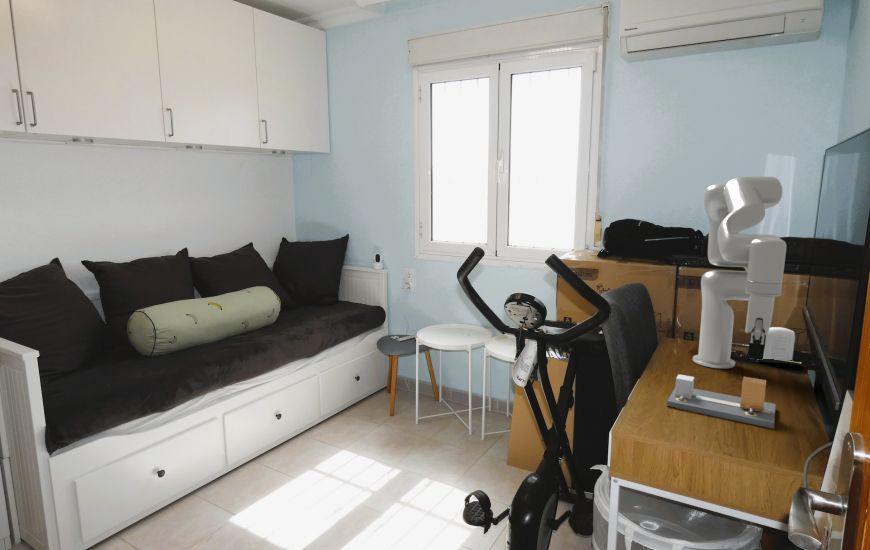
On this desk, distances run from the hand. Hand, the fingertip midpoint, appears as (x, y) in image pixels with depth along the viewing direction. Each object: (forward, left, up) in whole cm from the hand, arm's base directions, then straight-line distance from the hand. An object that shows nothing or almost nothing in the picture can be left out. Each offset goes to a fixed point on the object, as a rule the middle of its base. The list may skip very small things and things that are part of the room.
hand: (756, 353), depth 130 cm
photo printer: (-52, +4, -16) cm, 55 cm away
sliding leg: (+2, 0, -14) cm, 14 cm away
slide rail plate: (+1, -7, -16) cm, 17 cm away
